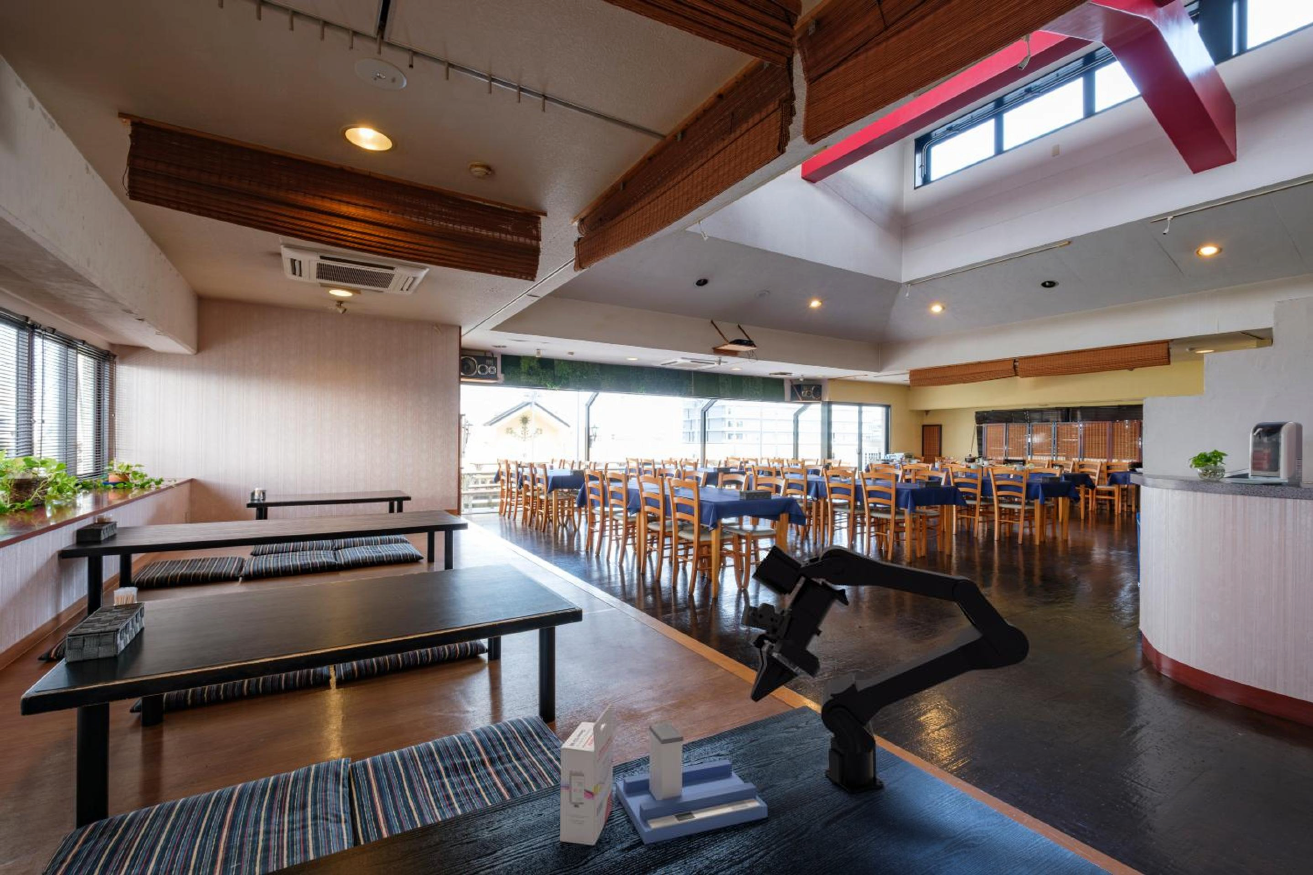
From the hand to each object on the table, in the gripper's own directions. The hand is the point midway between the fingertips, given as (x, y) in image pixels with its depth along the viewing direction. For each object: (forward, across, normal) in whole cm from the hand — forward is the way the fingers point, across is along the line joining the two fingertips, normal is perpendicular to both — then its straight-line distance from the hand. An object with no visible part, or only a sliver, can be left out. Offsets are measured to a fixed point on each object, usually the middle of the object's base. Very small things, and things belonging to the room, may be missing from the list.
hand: (752, 700), depth 88 cm
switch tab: (+18, +3, -4) cm, 19 cm away
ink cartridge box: (+26, +6, -12) cm, 29 cm away
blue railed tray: (+17, +2, -1) cm, 17 cm away
